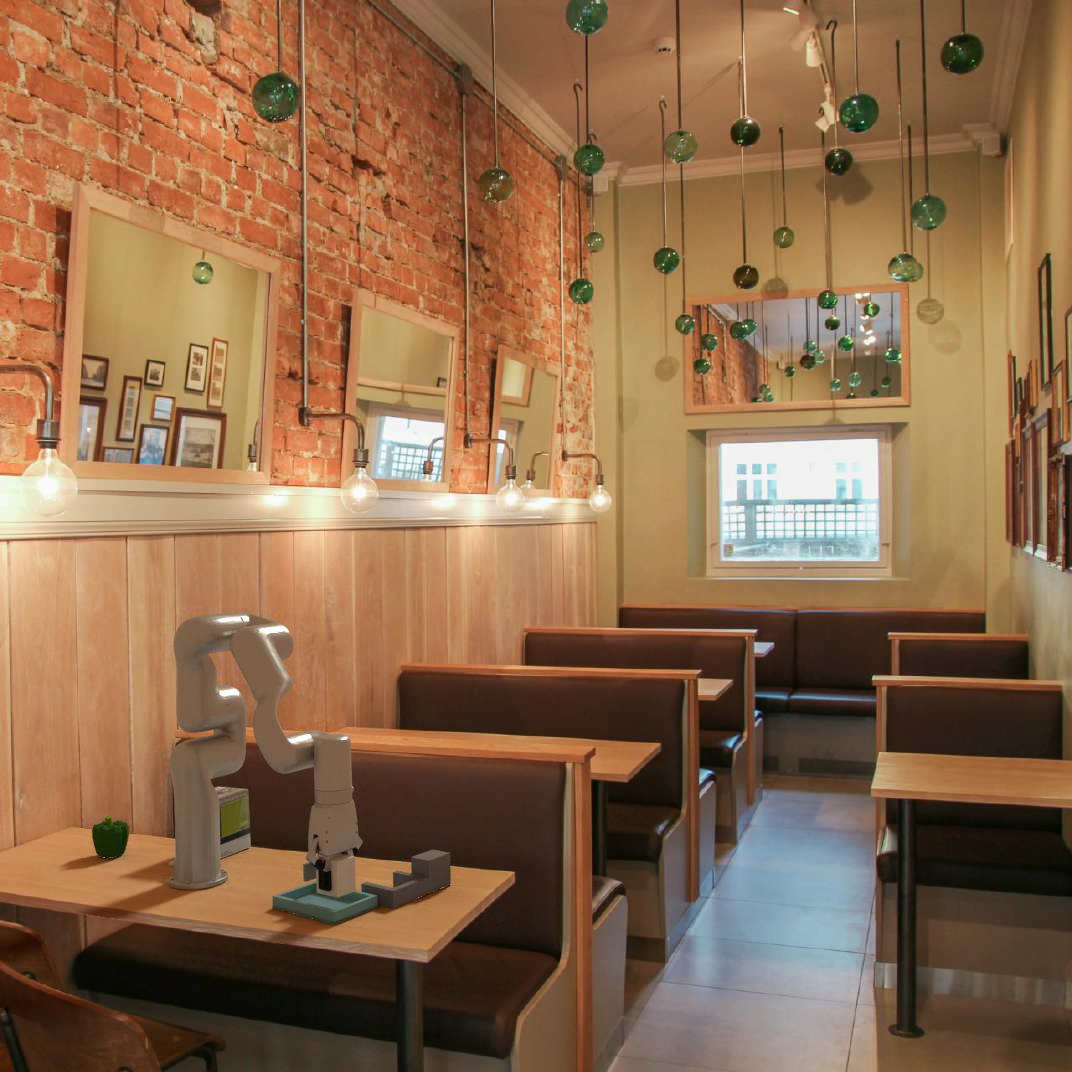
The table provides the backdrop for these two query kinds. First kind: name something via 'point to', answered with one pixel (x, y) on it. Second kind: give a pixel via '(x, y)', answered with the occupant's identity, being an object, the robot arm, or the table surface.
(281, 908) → the tray
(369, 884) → the bay
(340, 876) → the t-handle cube
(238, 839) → the tea box
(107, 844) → the bell pepper
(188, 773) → the robot arm
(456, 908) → the table surface
